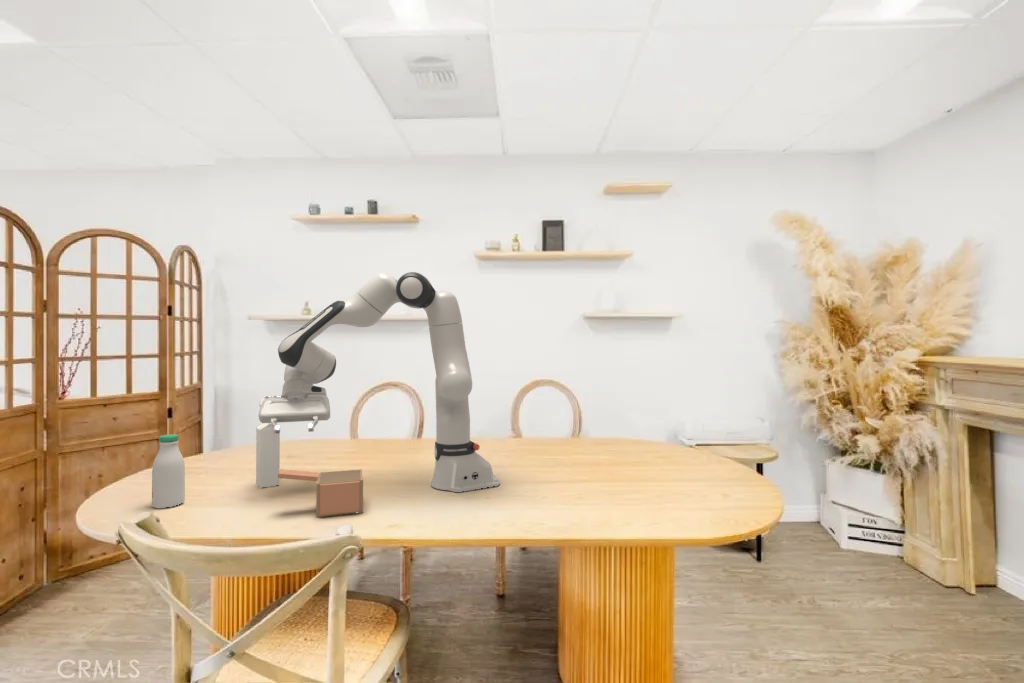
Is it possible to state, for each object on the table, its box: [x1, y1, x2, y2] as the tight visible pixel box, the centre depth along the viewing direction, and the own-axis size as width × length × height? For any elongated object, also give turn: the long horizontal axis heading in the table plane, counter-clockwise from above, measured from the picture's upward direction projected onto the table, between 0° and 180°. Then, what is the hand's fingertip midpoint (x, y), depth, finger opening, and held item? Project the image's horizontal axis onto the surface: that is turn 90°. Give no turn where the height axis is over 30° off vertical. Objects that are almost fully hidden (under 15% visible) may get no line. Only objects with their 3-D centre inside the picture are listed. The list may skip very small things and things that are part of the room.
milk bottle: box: [151, 433, 186, 509], centre depth 142 cm, size 8×8×20 cm
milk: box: [255, 423, 281, 489], centre depth 162 cm, size 6×6×22 cm
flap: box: [278, 468, 320, 482], centre depth 136 cm, size 1×5×10 cm
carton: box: [315, 468, 364, 518], centre depth 139 cm, size 12×13×9 cm
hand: (294, 431), depth 148 cm, fingers open, 8 cm apart
